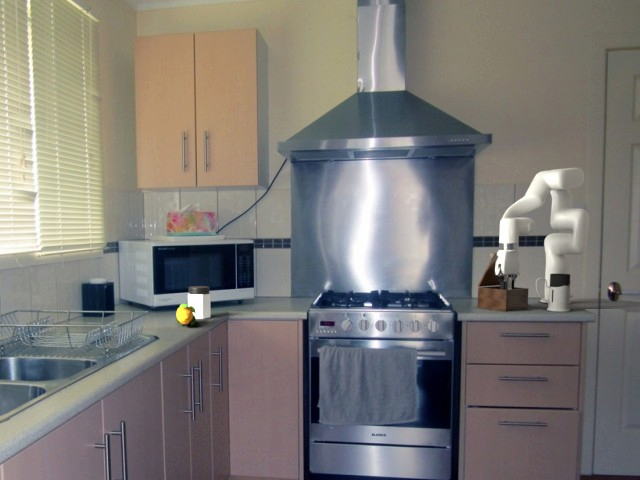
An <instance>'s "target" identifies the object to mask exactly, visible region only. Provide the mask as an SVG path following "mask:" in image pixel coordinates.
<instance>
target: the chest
mask: <svg viewBox="0 0 640 480" xmlns="http://www.w3.org/2000/svg"><path fill="white" fill-rule="evenodd" d="M477 308H478V309H485V310H492V311H493V310H494V311H500V312H501V311H502V312H511V311H512V312H513V311H524V310H528V308H529V288H528V287H517V286H514V289H511V290H503V289H500V285H497V286H483V287H478V286H477Z"/></svg>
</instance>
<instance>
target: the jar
mask: <svg viewBox="0 0 640 480" xmlns="http://www.w3.org/2000/svg"><path fill="white" fill-rule="evenodd" d="M187 304H188V306H189V307H190V306H191V305H192V306H193V307H194V308H195V310H196V314H195V313H194V312H193V315H195V318H196V319H195V320H199V319H200V320H204V319H211V317H212V316H211V315H212V314H211V313H212V311H211V293H210V286H206V285H194V286H188V293H187Z"/></svg>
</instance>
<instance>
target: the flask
mask: <svg viewBox="0 0 640 480" xmlns="http://www.w3.org/2000/svg"><path fill="white" fill-rule="evenodd" d="M512 279H513V278H510V277H508V276H507V280H506V282H507V290H511V289H512V287H511V283H512Z"/></svg>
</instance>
